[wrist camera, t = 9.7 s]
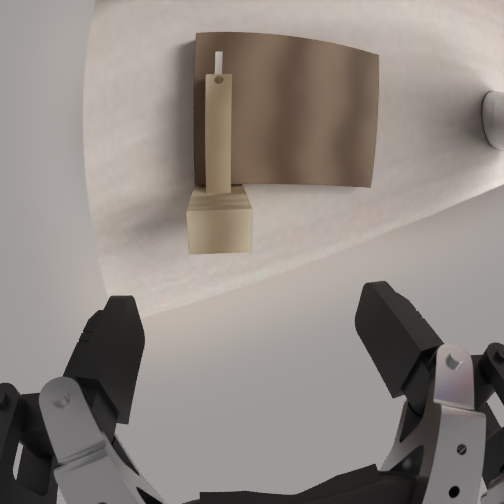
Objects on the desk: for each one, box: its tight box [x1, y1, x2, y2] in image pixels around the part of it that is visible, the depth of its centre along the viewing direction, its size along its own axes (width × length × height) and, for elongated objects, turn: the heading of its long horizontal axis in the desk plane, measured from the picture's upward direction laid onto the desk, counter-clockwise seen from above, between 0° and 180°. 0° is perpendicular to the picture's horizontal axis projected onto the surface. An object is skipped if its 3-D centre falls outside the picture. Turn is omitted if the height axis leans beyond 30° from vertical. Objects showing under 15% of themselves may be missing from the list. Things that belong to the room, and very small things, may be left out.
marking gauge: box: [186, 74, 252, 254], centre depth 20 cm, size 4×13×8 cm, turn 179°
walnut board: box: [194, 32, 379, 188], centre depth 22 cm, size 17×14×2 cm
